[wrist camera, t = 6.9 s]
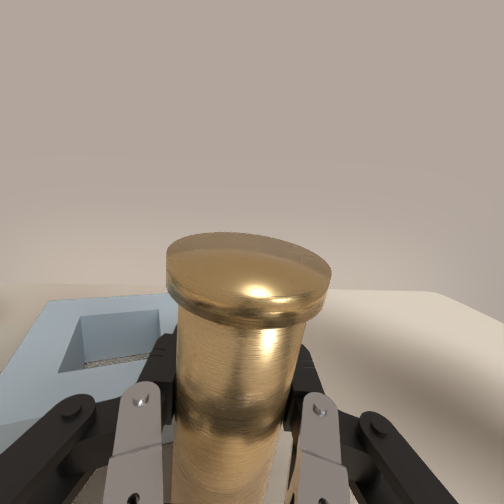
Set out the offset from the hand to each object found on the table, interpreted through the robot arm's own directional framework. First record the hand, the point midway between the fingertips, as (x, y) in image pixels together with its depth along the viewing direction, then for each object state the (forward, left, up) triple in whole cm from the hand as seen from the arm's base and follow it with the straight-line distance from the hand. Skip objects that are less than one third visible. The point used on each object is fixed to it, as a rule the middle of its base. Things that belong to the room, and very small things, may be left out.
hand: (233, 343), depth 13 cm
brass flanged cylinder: (+1, +3, -8) cm, 8 cm away
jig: (+6, -8, -10) cm, 14 cm away
